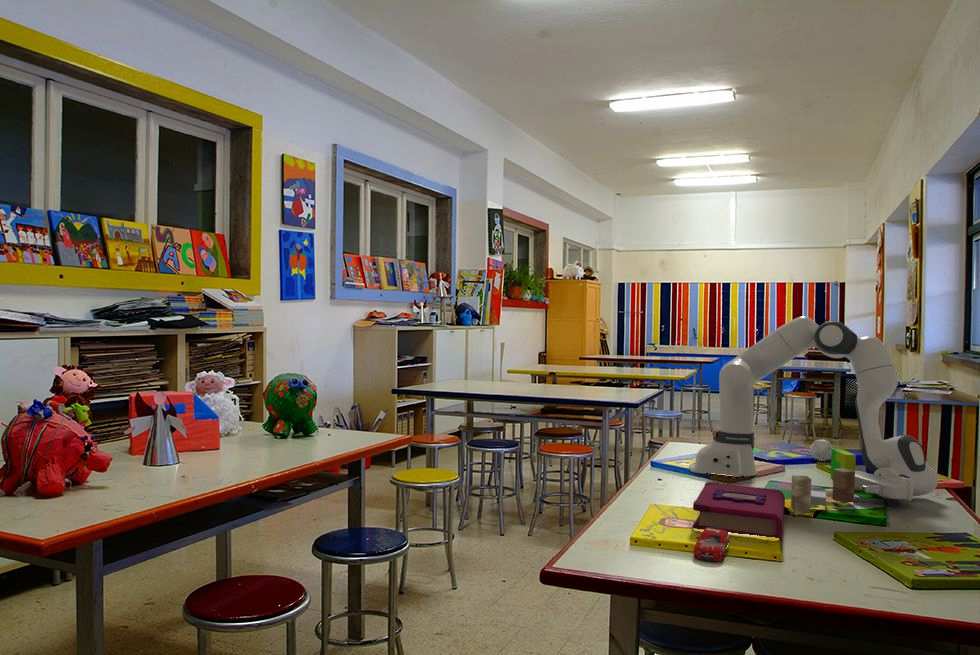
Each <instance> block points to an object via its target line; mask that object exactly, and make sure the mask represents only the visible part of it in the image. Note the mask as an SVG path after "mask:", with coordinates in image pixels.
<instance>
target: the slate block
mask: <svg viewBox="0 0 980 655" xmlns="http://www.w3.org/2000/svg"><path fill="white" fill-rule="evenodd" d="M811 505H823V506H826V507H827V492H825V491H819V490H818V491H817V490H811Z"/></svg>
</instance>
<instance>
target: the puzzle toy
mask: <svg viewBox="0 0 980 655" xmlns="http://www.w3.org/2000/svg"><path fill="white" fill-rule="evenodd" d="M843 468H845V469H848V470H852V471H861V472H865V473H869V474H874V473H873V472H872V471H870V470H869V469H868V468H867V467H866V466H865V464H864V462H863V460H862V449H852V448H849V449H848V448H847V449H846V448H834V449H832V454H831V459H830V479H832V480H833V469H843Z"/></svg>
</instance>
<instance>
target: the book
mask: <svg viewBox="0 0 980 655" xmlns="http://www.w3.org/2000/svg"><path fill="white" fill-rule="evenodd" d="M785 498H786V496H785V494H784V493H783V491H781V490H779V489H775V488H764V487H757V486H756V487H755V486H745V485H737V484H727V483H720V482H715V481H714V482H713V481H712V482H711V481H707V482H705V484H704V486H703V488H702V489H701V491H700V493H699V494H698V496H697V498H696V500H694V501H693V503H692V510H693V511H695V512H699V514H698V515H697V516H698V517H697V518H696V520H695V521H694V522H693V524H692V529H693V528H697V529H705V528H717V529H722V530H725V531H727V532H731V533H738V534H749V535H757V536H758V535H759V536H766V537H775V538H779V539H780V540H781V539H782V533H783V525H784V524H783V523H784V514H785V506H786V499H785Z"/></svg>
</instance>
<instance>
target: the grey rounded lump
mask: <svg viewBox="0 0 980 655" xmlns="http://www.w3.org/2000/svg"><path fill="white" fill-rule="evenodd" d="M832 449H835V447H834V446H833V445H832V443H831V441H829V440H826V439H815V440H814V441H813V442H812V443H811V445H810V449H809V453H810V455H811V456H812V457H814V458H815V459H814V458H813V459H814V460H816V459H817V460H816V461H818V460H819V461H818V462H820V461H824V462H827V461H826V460H829V461H831V454H832Z"/></svg>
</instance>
